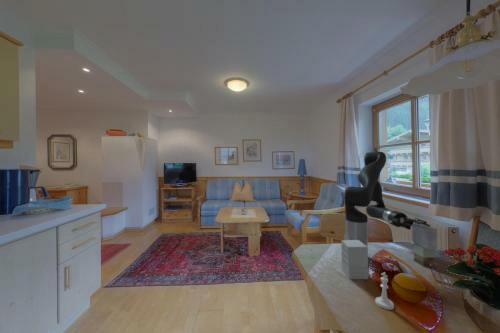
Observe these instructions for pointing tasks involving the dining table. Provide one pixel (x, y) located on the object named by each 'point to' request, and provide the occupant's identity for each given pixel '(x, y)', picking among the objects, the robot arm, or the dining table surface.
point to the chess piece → (384, 295)
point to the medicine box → (424, 236)
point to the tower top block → (424, 251)
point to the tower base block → (424, 260)
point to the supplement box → (354, 259)
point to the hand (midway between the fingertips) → (419, 227)
